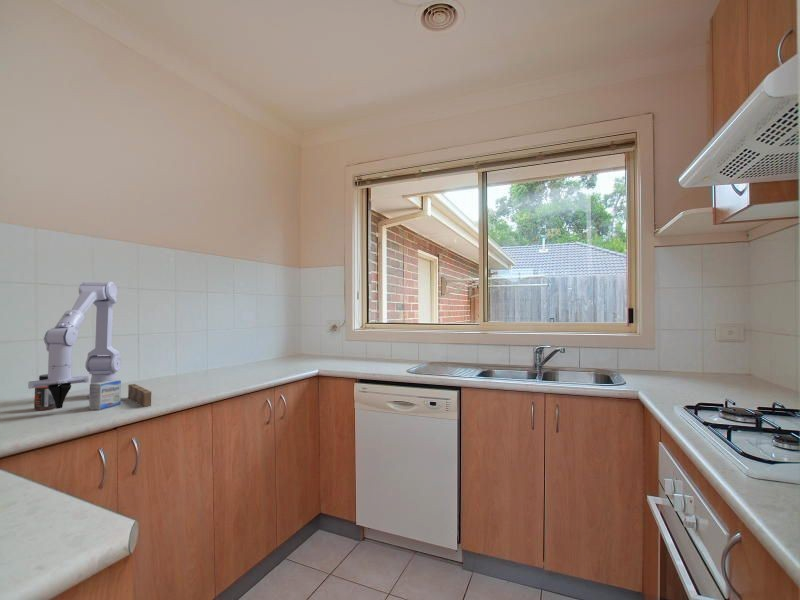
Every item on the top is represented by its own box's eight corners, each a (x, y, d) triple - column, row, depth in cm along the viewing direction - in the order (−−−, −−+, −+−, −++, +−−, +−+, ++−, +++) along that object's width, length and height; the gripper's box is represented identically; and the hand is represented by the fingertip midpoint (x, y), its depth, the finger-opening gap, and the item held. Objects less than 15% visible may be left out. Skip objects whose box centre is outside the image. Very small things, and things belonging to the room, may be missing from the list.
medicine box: (99, 410, 130) (100, 384, 130) (88, 409, 131) (89, 383, 131) (121, 404, 138) (121, 380, 138) (110, 403, 139) (111, 379, 139)
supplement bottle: (29, 409, 130) (31, 375, 130) (51, 405, 135) (52, 372, 136) (40, 411, 128) (41, 376, 128) (61, 407, 133) (62, 374, 133)
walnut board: (128, 397, 148) (128, 384, 148) (134, 397, 149) (134, 383, 150) (144, 407, 135) (144, 392, 135) (151, 406, 136) (151, 391, 136)
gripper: (30, 369, 118) (29, 414, 118) (91, 364, 129) (90, 405, 128) (28, 366, 123) (26, 410, 122) (86, 362, 133) (85, 402, 133)
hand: (58, 407), depth 126 cm, fingers closed
